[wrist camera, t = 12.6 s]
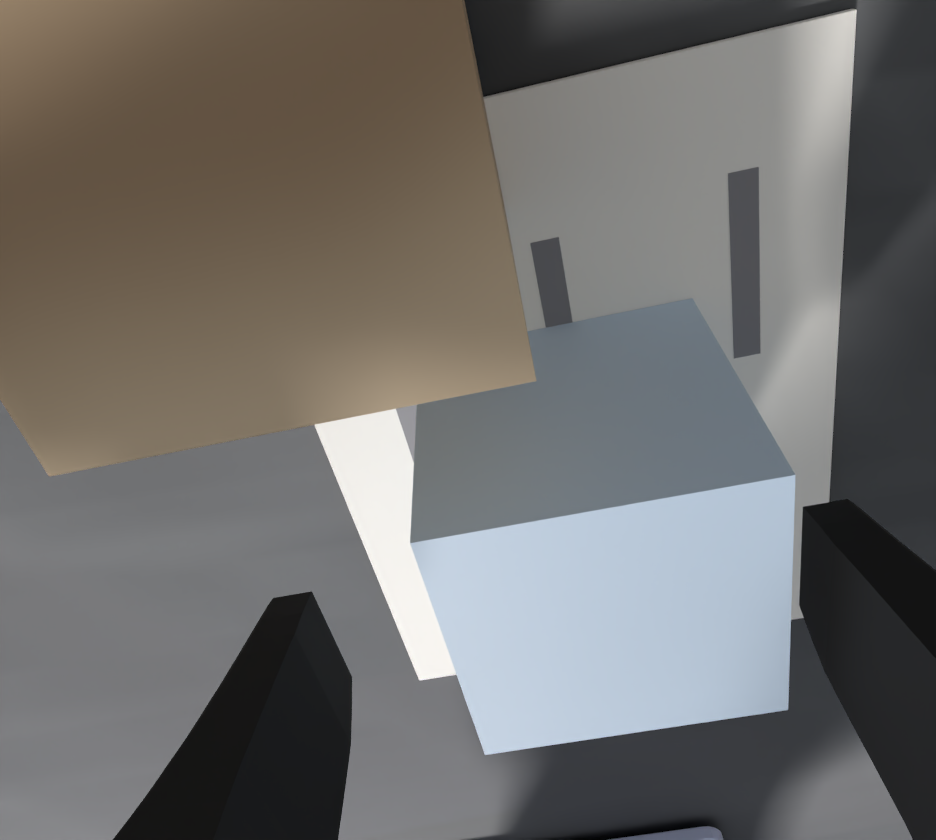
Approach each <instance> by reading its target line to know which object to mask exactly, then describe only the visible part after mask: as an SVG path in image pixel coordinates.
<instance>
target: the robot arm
mask: <svg viewBox="0 0 936 840" xmlns="http://www.w3.org/2000/svg"><path fill="white" fill-rule="evenodd" d="M799 606H800V609H801V611H802V614H803V617H804V619H805V622H806V625H807V627H808V630H809V633H810V635H811V638H812V641H813V643H814V646H815V648H816V651H817V653H818V656H819V658H820V661H821V663H822V666H823V668H824V671H825V673H826V675H827V677H828V679H829V681H830V683H831V684H832V686H833V688H834V690H835V692H836V694H837V696H838V698H839V700H840V702H841V704H842V705H843V707H844V709H845V711H846V713H847V715H848V717H849V719H850V721H851V723H852V724H853V726H854V728H855V730H856V732H857V734H858V736H859V738H860V739H861V741H862V743H863V745H864V747H865V749H866V751H867V753H868V754H869V756H870V758H871V760H872V762H873V764H874V766H875V768H876V769H877V771H878V773H879V775H880V777H881V779H882V781H883V783H884V784H885V786H886V788H887V790H888V792H889V794H890V796H891V798H892V799H893V801H894V803H895V805H896V807H897V809H898V811H899V813H900V814H901V816H902V818H903V820H904V822H905V824H906V826H907V828H908V830H909V832H910V834H911V836H912V838H913V840H936V570H934V569H933V568H932V567H931V566H929V565H928V564H927V563H926V562H924V561H923V560H922V559H921V558H919V557H918V556H917V555H916V554H915V553H913V552H912V551H911V550H910V549H908V548H907V547H906V546H905V545H903V544H902V543H901V542H900V541H899V540H897V539H896V538H895V537H894V536H892V535H891V534H890V533H889V532H888V531H886V530H885V529H884V528H883V527H882V526H880V525H879V524H878V523H877V522H876V521H874V520H873V519H872V518H871V517H870V516H868V515H867V514H866V513H865V512H864V511H862V510H861V509H860V508H859V507H858V506H856V505H855V504H854V503H852V502H851V501H849V500H848V499H845V500H839V501H833V502H828V503H822V504H816V505H810V506H804V507H803V514H802V541H801V568H800V595H799ZM351 719H352V676H351V674H350V672H349V670H348V668H347V666H346V663H345V661H344V659H343V657H342V655H341V653H340V651H339V649H338V646H337V644H336V642H335V640H334V638H333V636H332V634H331V631H330V629H329V627H328V625H327V623H326V621H325V619H324V617H323V614H322V612H321V610H320V608H319V606H318V604H317V602H316V600H315V597H314V595H313V593H312V592H306V593H301V594H295V595H289V596H283V597H277V598H273V599H272V601H271V602H270V603H269V605H268V606H267V608H266V610H265V611H264V613H263V615H262V616H261V618H260V620H259V621H258V623H257V625H256V626H255V628H254V630H253V631H252V633H251V635H250V636H249V638H248V640H247V641H246V643H245V645H244V646H243V648H242V650H241V651H240V653H239V655H238V656H237V658H236V660H235V661H234V663H233V665H232V666H231V668H230V670H229V671H228V673H227V675H226V676H225V678H224V680H223V681H222V683H221V684H220V686H219V688H218V689H217V691H216V692H215V694H214V696H213V697H212V699H211V700H210V702H209V703H208V705H207V707H206V708H205V710H204V711H203V713H202V714H201V716H200V718H199V719H198V721H197V722H196V724H195V725H194V727H193V729H192V730H191V732H190V733H189V735H188V736H187V738H186V739H185V741H184V742H183V744H182V745H181V747H180V748H179V749H178V751H177V752H176V754H175V755H174V757H173V758H172V759H171V761H170V762H169V764H168V765H167V767H166V768H165V770H164V771H163V772H162V774H161V775H160V777H159V778H158V780H157V781H156V783H155V784H154V785H153V787H152V788H151V790H150V791H149V793H148V794H147V795H146V797H145V798H144V799H143V801H142V802H141V803H140V805H139V806H138V807H137V809H136V810H135V811H134V813H133V814H132V816H131V817H130V818H129V819H128V821H127V822H126V823H125V825H124V826H123V827H122V829H121V830H120V831H119V832H118V834H117V835H116V836H115V838H114V839H113V840H338V835H339V828H340V821H341V813H342V806H343V799H344V792H345V784H346V777H347V769H348V762H349V754H350V746H351ZM608 840H723V836H722V833H721V831H720V830H718V829H716V828H715V827H710V826H702V827H695V828H688V829H680V830H673V831H666V832H659V833H651V834H644V835H637V836H630V837H623V838H615V839H608Z"/></svg>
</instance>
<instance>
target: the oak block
mask: <svg viewBox="0 0 936 840" xmlns="http://www.w3.org/2000/svg"><path fill="white" fill-rule="evenodd" d="M535 381H536V376H535V370H534V365H533V359H532V354H531V348H530V343H529V338H528V332H527V327H526V321H525V316H524V310H523V305H522V299H521V294H520V288H519V283H518V277H517V272H516V266H515V261H514V255H513V250H512V244H511V239H510V233H509V228H508V222H507V217H506V212H505V206H504V201H503V196H502V191H501V186H500V181H499V176H498V170H497V165H496V160H495V155H494V150H493V145H492V140H491V134H490V129H489V124H488V119H487V114H486V109H485V104H484V98H483V93H482V88H481V83H480V78H479V73H478V68H477V62H476V57H475V52H474V47H473V42H472V37H471V32H470V27H469V21H468V16H467V11H466V6H465V1H464V0H0V400H1V402H2V403H3V405H4V406H5V408H6V409H7V411H8V413H9V414H10V416H11V417H12V419H13V420H14V422H15V424H16V425H17V427H18V428H19V430H20V431H21V433H22V435H23V436H24V438H25V439H26V441H27V442H28V444H29V446H30V447H31V449H32V450H33V452H34V453H35V455H36V457H37V458H38V460H39V461H40V463H41V464H42V466H43V468H44V469H45V471H46V472H47V474H48V476H49V477H50V476H55V475H60V474H65V473H70V472H75V471H80V470H85V469H90V468H96V467H101V466H106V465H111V464H116V463H121V462H126V461H131V460H136V459H142V458H147V457H152V456H157V455H162V454H167V453H172V452H177V451H182V450H188V449H193V448H198V447H203V446H208V445H213V444H218V443H223V442H228V441H233V440H239V439H244V438H249V437H254V436H259V435H264V434H269V433H274V432H279V431H285V430H290V429H295V428H300V427H305V426H310V425H315V424H320V423H325V422H331V421H336V420H341V419H346V418H351V417H356V416H361V415H366V414H371V413H377V412H382V411H387V410H392V409H397V408H402V407H407V406H412V405H417V404H423V403H428V402H433V401H438V400H443V399H448V398H453V397H458V396H463V395H468V394H474V393H479V392H484V391H489V390H494V389H499V388H504V387H509V386H514V385H520V384H525V383H530V382H535Z"/></svg>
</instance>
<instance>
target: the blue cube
mask: <svg viewBox="0 0 936 840" xmlns="http://www.w3.org/2000/svg"><path fill="white" fill-rule="evenodd" d="M527 332H528V338H529V343H530V348H531V354H532V359H533V365H534V370H535V376H536V381H535V382H530V383H525V384H520V385H514V386H509V387H504V388H499V389H494V390H489V391H484V392H479V393H474V394H468V395H463V396H458V397H453V398H448V399H443V400H438V401H433V402H428V403H423V404H417V411H416V431H415V452H414V472H413V493H412V513H411V534H410V545H411V547H412V550H413V553H414V556H415V559H416V561H417V564H418V567H419V570H420V573H421V576H422V578H423V581H424V584H425V587H426V590H427V592H428V595H429V598H430V601H431V604H432V607H433V609H434V612H435V615H436V618H437V621H438V624H439V626H440V629H441V632H442V635H443V638H444V640H445V643H446V646H447V649H448V652H449V655H450V657H451V660H452V663H453V666H454V669H455V671H456V674H457V677H458V680H459V683H460V686H461V688H462V691H463V694H464V697H465V700H466V703H467V705H468V708H469V711H470V714H471V717H472V719H473V722H474V725H475V728H476V731H477V734H478V736H479V739H480V742H481V745H482V748H483V750H484V753H485V755H488V754H495V753H502V752H508V751H515V750H522V749H529V748H535V747H542V746H549V745H556V744H562V743H569V742H576V741H583V740H589V739H596V738H603V737H610V736H616V735H623V734H630V733H636V732H643V731H650V730H657V729H663V728H670V727H677V726H684V725H690V724H697V723H704V722H711V721H717V720H724V719H731V718H738V717H744V716H751V715H758V714H765V713H771V712H778V711H785V710H788V700H789V668H790V636H791V604H792V572H793V540H794V508H795V476H796V475H795V473H794V471H793V470H792V468H791V466H790V465H789V463H788V461H787V459H786V458H785V456H784V454H783V453H782V451H781V449H780V447H779V446H778V444H777V442H776V441H775V439H774V437H773V436H772V434H771V432H770V430H769V429H768V427H767V425H766V424H765V422H764V420H763V418H762V417H761V415H760V413H759V412H758V410H757V408H756V406H755V405H754V403H753V401H752V400H751V398H750V396H749V394H748V393H747V391H746V389H745V388H744V386H743V384H742V382H741V381H740V379H739V377H738V376H737V374H736V372H735V370H734V369H733V367H732V365H731V364H730V362H729V360H728V358H727V357H726V355H725V353H724V352H723V350H722V348H721V346H720V345H719V343H718V341H717V340H716V338H715V336H714V334H713V333H712V331H711V329H710V328H709V326H708V324H707V322H706V321H705V319H704V317H703V316H702V314H701V312H700V310H699V309H698V307H697V305H696V304H695V302H694V300H693V298H691V299H686V300H681V301H676V302H671V303H666V304H661V305H656V306H651V307H646V308H641V309H636V310H631V311H626V312H621V313H616V314H611V315H606V316H601V317H596V318H591V319H586V320H582V321H577V322H572V323H567V324H562V325H557V326H552V327H547V328H542V329H537V330H532V331H527Z"/></svg>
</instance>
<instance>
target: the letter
mask: <svg viewBox="0 0 936 840" xmlns="http://www.w3.org/2000/svg"><path fill="white" fill-rule="evenodd" d="M856 12H857V10H856V9H848V10H844V11H840V12H836V13H832V14H827V15H823V16H819V17H815V18H811V19H807V20H802V21H798V22H794V23H790V24H786V25H782V26H777V27H773V28H769V29H765V30H761V31H757V32H752V33H748V34H744V35H740V36H736V37H732V38H727V39H723V40H719V41H715V42H711V43H707V44H702V45H698V46H694V47H690V48H686V49H681V50H677V51H673V52H669V53H665V54H661V55H656V56H652V57H648V58H644V59H640V60H636V61H631V62H627V63H623V64H619V65H615V66H611V67H606V68H602V69H598V70H594V71H590V72H586V73H581V74H577V75H573V76H569V77H565V78H561V79H556V80H552V81H548V82H544V83H540V84H536V85H531V86H527V87H523V88H519V89H515V90H510V91H506V92H502V93H498V94H494V95H490V96H485V97H483V98H484V104H485V109H486V114H487V119H488V124H489V129H490V134H491V140H492V145H493V150H494V155H495V160H496V165H497V170H498V176H499V181H500V186H501V191H502V196H503V201H504V206H505V212H506V217H507V222H508V228H509V233H510V239H511V244H512V250H513V255H514V261H515V266H516V272H517V277H518V283H519V288H520V294H521V299H522V305H523V310H524V316H525V321H526V327H527V331H532V330H537V329H542V328H547V327H552V326H557V325H562V324H567V323H572V322H577V321H582V320H586V319H591V318H596V317H601V316H606V315H611V314H616V313H621V312H626V311H631V310H636V309H641V308H646V307H651V306H656V305H661V304H666V303H671V302H676V301H681V300H686V299H691V298H693V300H694V302H695V304H696V305H697V307H698V309H699V310H700V312H701V314H702V316H703V317H704V319H705V321H706V322H707V324H708V326H709V328H710V329H711V331H712V333H713V334H714V336H715V338H716V340H717V341H718V343H719V345H720V346H721V348H722V350H723V352H724V353H725V355H726V357H727V358H728V360H729V362H730V364H731V365H732V367H733V369H734V370H735V372H736V374H737V376H738V377H739V379H740V381H741V382H742V384H743V386H744V388H745V389H746V391H747V393H748V394H749V396H750V398H751V400H752V401H753V403H754V405H755V406H756V408H757V410H758V412H759V413H760V415H761V417H762V418H763V420H764V422H765V424H766V425H767V427H768V429H769V430H770V432H771V434H772V436H773V437H774V439H775V441H776V442H777V444H778V446H779V447H780V449H781V451H782V453H783V454H784V456H785V458H786V459H787V461H788V463H789V465H790V466H791V468H792V470H793V471H794V473H795V475H796V476H795V508H794V540H793V572H792V604H791V620H793V619H799V618H804V617H803V614H802V611H801V609H800V606H799V595H800V568H801V541H802V514H803V507H804V506H810V505H816V504H822V503H828V502H829V495H830V477H831V459H832V441H833V423H834V405H835V387H836V370H837V352H838V334H839V316H840V298H841V280H842V262H843V245H844V227H845V209H846V191H847V173H848V155H849V137H850V120H851V102H852V84H853V66H854V48H855V30H856ZM416 411H417V405H412V406H407V407H402V408H397V409H392V410H387V411H382V412H377V413H371V414H366V415H361V416H356V417H351V418H346V419H341V420H336V421H331V422H325V423H320V424H315V427H316V430H317V432H318V435H319V437H320V440H321V442H322V444H323V447H324V449H325V452H326V454H327V457H328V459H329V462H330V464H331V466H332V469H333V471H334V474H335V476H336V479H337V481H338V483H339V486H340V488H341V491H342V493H343V496H344V498H345V500H346V503H347V505H348V508H349V510H350V513H351V515H352V518H353V520H354V522H355V525H356V527H357V530H358V532H359V535H360V537H361V539H362V542H363V544H364V547H365V549H366V552H367V554H368V556H369V559H370V561H371V564H372V566H373V569H374V571H375V574H376V576H377V578H378V581H379V583H380V586H381V588H382V591H383V593H384V595H385V598H386V600H387V603H388V605H389V608H390V610H391V612H392V615H393V617H394V620H395V622H396V625H397V627H398V630H399V632H400V634H401V637H402V639H403V642H404V644H405V647H406V649H407V651H408V654H409V656H410V659H411V661H412V664H413V666H414V668H415V671H416V673H417V676H418V678H419V681H420V680H426V679H432V678H438V677H444V676H450V675H456V671H455V669H454V666H453V663H452V660H451V657H450V655H449V652H448V649H447V646H446V643H445V640H444V638H443V635H442V632H441V629H440V626H439V624H438V621H437V618H436V615H435V612H434V609H433V607H432V604H431V601H430V598H429V595H428V592H427V590H426V587H425V584H424V581H423V578H422V576H421V573H420V570H419V567H418V564H417V561H416V559H415V556H414V553H413V550H412V547H411V545H410V534H411V513H412V493H413V472H414V452H415V431H416Z"/></svg>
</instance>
